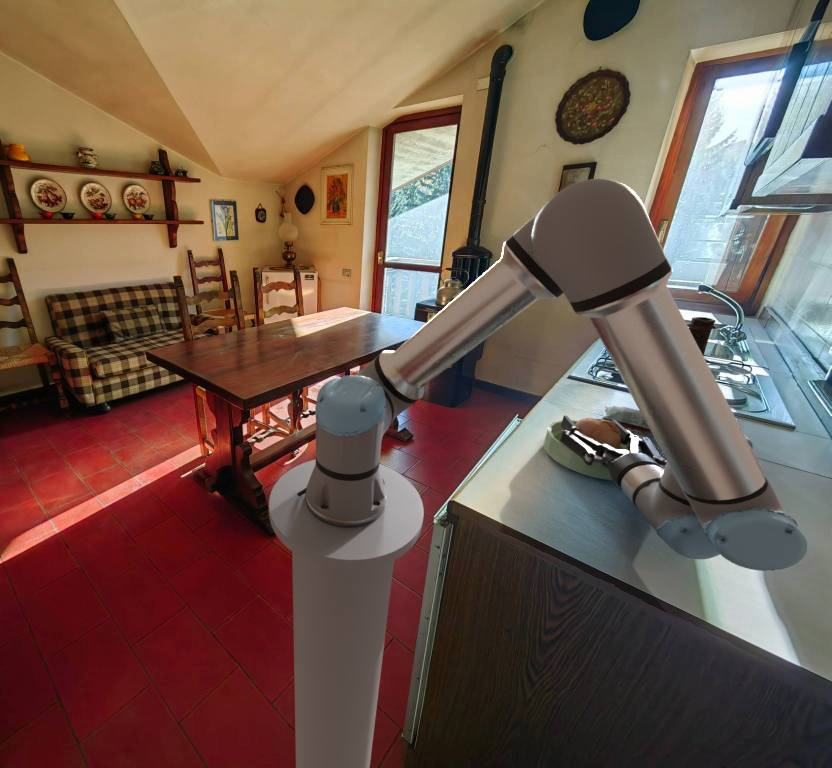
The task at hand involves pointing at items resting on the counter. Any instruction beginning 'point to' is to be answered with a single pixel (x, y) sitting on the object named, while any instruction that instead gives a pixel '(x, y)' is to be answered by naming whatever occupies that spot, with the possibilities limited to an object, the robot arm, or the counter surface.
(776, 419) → the counter surface
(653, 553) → the counter surface
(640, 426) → the packaged food
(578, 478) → the counter surface
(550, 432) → the bowl
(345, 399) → the robot arm
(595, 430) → the onion
